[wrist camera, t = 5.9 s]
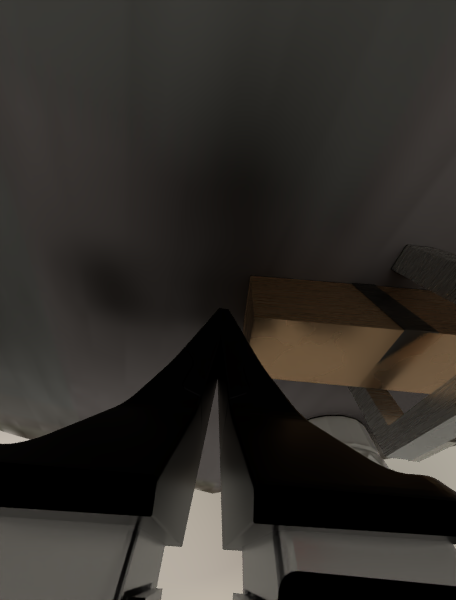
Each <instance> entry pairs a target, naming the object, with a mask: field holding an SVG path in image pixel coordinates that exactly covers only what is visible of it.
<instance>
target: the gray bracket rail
mask: <svg viewBox="0 0 456 600" xmlns="http://www.w3.org/2000/svg"><path fill="white" fill-rule="evenodd" d="M392 270H394V271H395V272H397V273H399V274H401V275H403V276H405V277H406V278H408V279H410V280H412V281H414V282H415V283H417V284H419V285H421V286H423V287H425V288H426V289H428V290H430V291H432V292H434V293H435V294H437V295H439V296H441V297H443V298H445V299H446V300H448V301H450V302H452V303H454V304H455V305H456V255H454V254H451V253H448V252H445V251H442V250H438V249H435V248H431V247H421V246H411V245H406V247H405V249H404V250H403V252H402V253H401V255H400V256H399V258H398V260H397V261H396V263H395V264H394V266H393V267H392ZM348 388H349V390H350V391H351V393H352V395H353V397H354V399H355V401H356V403H357V405H358V407H359V408H360V410H361V412H362V414H363V416H364V418H365V420H366V422H367V423H368V425H369V427H370V429H371V431H372V433H373V435H374V437H375V438H376V440H377V442H378V444H379V446H380V448H381V450H382V452H383V453H384V455H385V457H389V458H398V459H406V460H409V461H417V462H419V461H421V460H423V459H426V458H428V457H430V456H432V455H434V454H436V453H438V452H440V451H442V450H444V449H446V448H448V447H450V446H452V445H454V444H456V440H455V439H454V438H456V375H455V376H453V377H452V378H451V379H450V380H448V381H447V382H446V383H444V384H443V385H442V386H440V387H439V388H438V389H436V390H435V391H434V392H432V393H431V394H430V395H428V396H427V397H426V398H424V399H423V400H422V401H420V402H419V403H418V404H416V405H415V406H414V407H412V408H411V409H410V410H409V411H407V412H406V413H405V414H404V413H403V412H402V410H401V409H400V408H399V406H398V405H397V403H396V402H395V401H394V399H393V398H392V396H391V395H390V394H389V392H388V391H387V390H385V389H384V390H378V389H368V388H357V387H353V386H348Z"/></svg>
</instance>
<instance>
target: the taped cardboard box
mask: <svg viewBox="0 0 456 600" xmlns="http://www.w3.org/2000/svg"><path fill="white" fill-rule="evenodd" d="M243 334H244V336H245V338H246V339H247V341H248V343H249V344H250V346H251V348H252V349H253V351H254V353H255V354H256V356H257V358H258V359H259V361H260V362H261V364H262V365H263V367H264V369H265V370H266V371H267V373H268V374H269V375H270V377H271V378H272V379H281V380H291V381H301V382H312V383H322V384H333V385H343V386H353V387H357V388H368V389H378V390H384V389H385V390H395V391H406V392H416V393H426V394H431V393H432V392H434V391H435V390H436V389H438V388H439V387H440V386H442V385H443V384H444V383H446V382H447V381H448V380H450V379H451V378H452V377H453V376H455V375H456V305H455V304H454V303H452V302H450V301H448V300H446V299H445V298H443V297H441V296H439V295H437V294H435V293H434V292H432V291H430V290H419V289H407V288H395V287H383V286H376V285H369V284H357V283H352V284H346V283H334V282H322V281H310V280H298V279H286V278H274V277H262V276H250V282H249V289H248V296H247V303H246V310H245V317H244V324H243Z"/></svg>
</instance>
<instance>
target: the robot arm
mask: <svg viewBox="0 0 456 600" xmlns="http://www.w3.org/2000/svg"><path fill="white" fill-rule="evenodd" d="M217 379H218V406H219V439H220V473H221V505H222V506H221V507H222V537H223V538H222V539H223V540H222V541H223V549H224V550H238V551H242V558H243V594H236V593H233V600H456V549H455V547H454V545H453V544H456V492H455V491H453V490H452V489H450V488H449V487H447V486H446V485H444V484H443V483H442V482H440V481H439V480H437V479H435V478H433V477H430V476H425V475H415V474H405V473H400V472H396V471H393V470H391V469H388V468H386V467H384V466H381V465H379V464H377V463H375V462H374V461H372V460H370V459H368V458H367V457H365V456H363V455H362V454H360V453H359V452H357V451H355V450H354V449H352V448H351V447H349V446H348V445H346V444H344V443H343V442H341V441H340V440H338V439H336V438H335V437H333V436H332V435H330V434H328V433H327V432H325V431H324V430H322V429H320V428H319V427H317V426H316V425H314V424H312V423H311V422H309V421H308V420H307V419H305V418H304V417H303V416H302V415H301V414H300V413H299V412H298V411H297V410H296V409H295V408H294V406H293V405H292V404H291V403H290V401H289V400H288V399H287V398H286V396H285V395H284V394H283V392H282V391H281V390H280V388H279V387H278V386H277V385H276V383H275V382H274V381H273V379H272V378H271V377H270V375H269V374H268V373H267V371H266V370H265V369H264V367H263V365H262V364H261V362H260V361H259V359H258V358H257V356H256V354H255V353H254V351H253V349H252V348H251V346H250V344H249V343H248V341H247V339H246V338H245V336H244V334H243V333H242V331H241V329H240V328H239V326H238V324H237V322H236V321H235V319H234V317H233V316H232V314H231V312H230V311H229V309H222V308H219V309H218V310H217V311H216V312H215V314H214V315H213V316H212V317H211V318H210V319H209V320H208V322H207V323H206V324H205V325H204V326H203V327H202V328H201V329H200V331H199V332H198V333H197V334H196V335H195V336H194V337H193V338H192V340H191V341H190V342H189V343H188V344H187V345H186V346H185V347H184V348H183V350H182V351H181V352H180V353H179V354H178V355H177V356H176V357H175V358H174V359H173V360H172V361H171V362H170V363H169V364H168V365H167V366H166V367H165V368H164V369H163V370H162V371H161V372H160V373H158V374H157V375H156V376H155V377H154V378H153V379H152V380H151V381H149V382H148V383H147V384H146V385H145V386H144V387H143V388H142V389H140V390H139V391H138V392H137V393H136V394H135V395H134V396H132V397H131V398H130V399H128V400H127V401H125V402H124V403H122V404H120V405H118V406H116V407H114V408H111V409H109V410H106V411H104V412H101V413H99V414H96V415H94V416H91V417H89V418H87V419H84V420H82V421H79V422H77V423H74V424H72V425H69V426H67V427H64V428H62V429H59V430H57V431H54V432H52V433H49V434H47V435H44V436H41V437H38V438H35V439H32V440H28V441H24V442H19V443H13V444H0V600H161V594H162V589H157V588H156V587H157V582H158V577H159V572H160V567H161V562H162V557H163V552H164V547H165V546H178V547H179V546H180V547H181V546H182V544H183V539H184V534H185V530H186V524H187V520H188V515H189V510H190V506H191V501H192V497H193V492H194V487H195V483H196V478H197V473H198V468H199V464H200V459H201V454H202V450H203V445H204V440H205V435H206V431H207V426H208V421H209V417H210V412H211V407H212V403H213V398H214V393H215V389H216V384H217Z"/></svg>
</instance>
